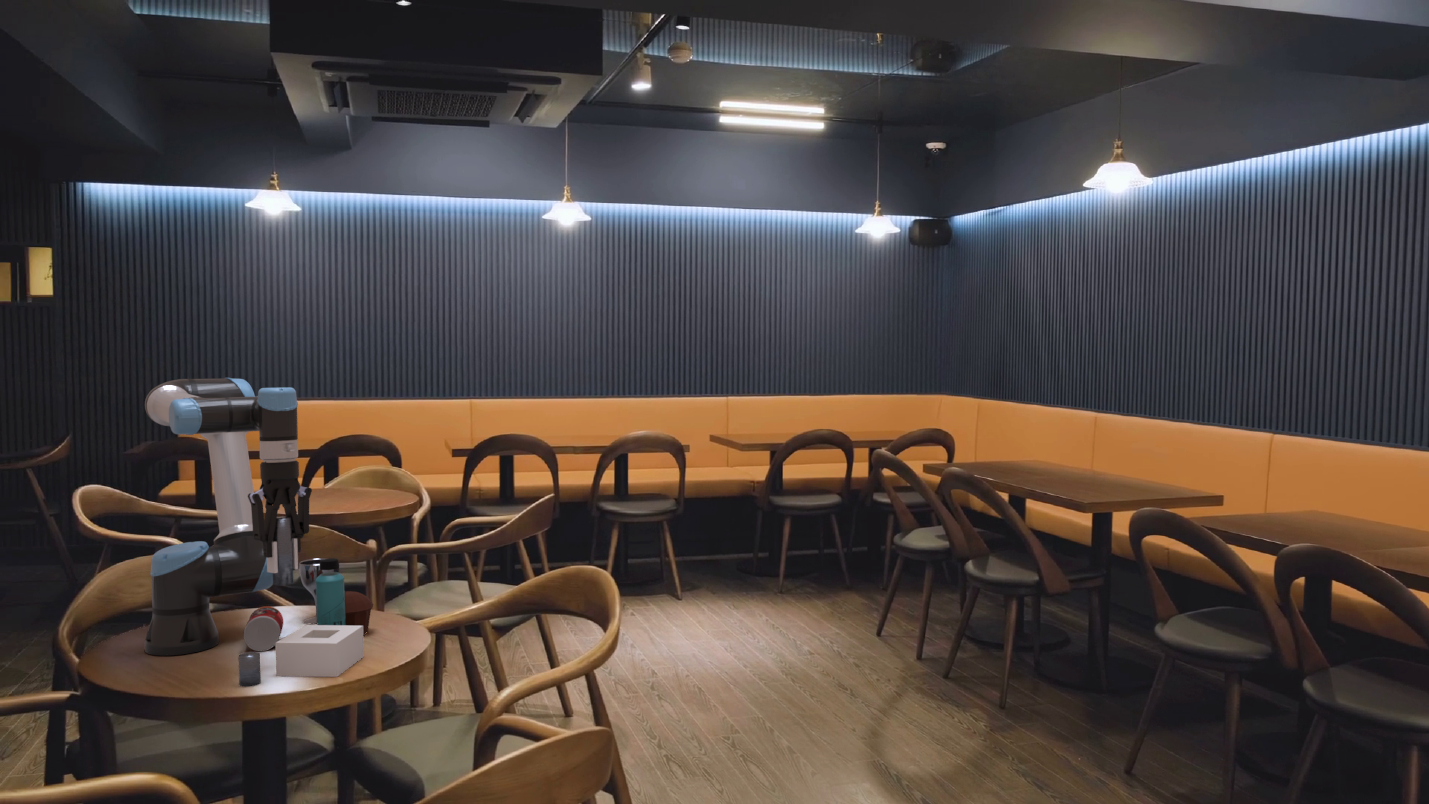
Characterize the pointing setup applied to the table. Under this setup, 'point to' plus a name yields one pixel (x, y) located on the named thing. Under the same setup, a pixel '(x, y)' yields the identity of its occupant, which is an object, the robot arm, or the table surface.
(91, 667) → the table surface
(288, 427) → the robot arm
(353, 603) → the muffin
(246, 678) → the short peg
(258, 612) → the canned food
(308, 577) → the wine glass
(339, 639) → the hole block
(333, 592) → the beverage bottle
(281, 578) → the long peg
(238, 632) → the table surface
